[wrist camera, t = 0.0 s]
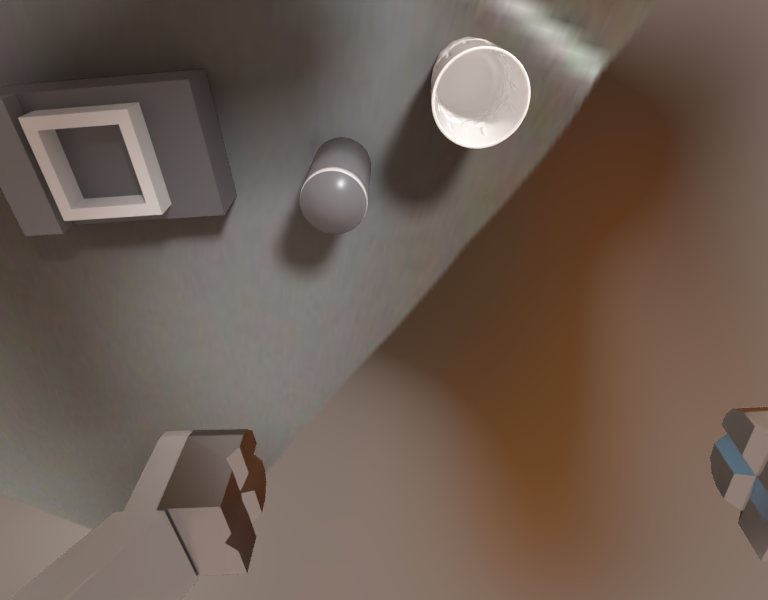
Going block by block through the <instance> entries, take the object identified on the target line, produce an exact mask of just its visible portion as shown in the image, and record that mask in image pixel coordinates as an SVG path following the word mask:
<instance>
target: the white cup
mask: <svg viewBox="0 0 768 600" xmlns="http://www.w3.org/2000/svg"><path fill="white" fill-rule="evenodd" d="M530 93H531V91H530V82H529V78H528V75H527V73H526V71H525V69H524V67H523V65H522V64H521V63H520V61H519V60H518V59H517V58H516V57H515V56H513V55H512V54H511V53H509V52H507V51H506V50H504V49H502V48H501V47H499V46H498V45H496V44H494V43H492V42H489V41H487V40H484V39H479V38H474V37H469V36H468V37H465V38H462V39H458V40H455V41H452V42H451V43H450V44H449V45H448V46H447V47H446V48H445V49H444V50H442V51H441V52H440V53H439V55H438V58H437V60H436V62H435V65H434V67H433V74H432V79H431V105H432V113H433V117H434V120H435V122H436V124H437V126H438V128H439V129H440V131H441V132H442V133H443V134H444V135H445V136H446V137H447V138H448V139H449V140H450V141H452V142H453V143H455V144H457V145H460V146H462V147H466V148H473V149H479V148H487V147H490V146H493V145H496V144H498V143H500V142H502V141H504V140H505V139H507V138H508V137H509V136H510V135H512V134H513V133H514V132H515V131H516V129H517V128H518V127H519V126H520V124H521V123H522V121H523V119H524V117H525V115H526V113H527V110H528V107H529V103H530Z"/></svg>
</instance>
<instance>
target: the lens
mask: <svg viewBox="0 0 768 600" xmlns="http://www.w3.org/2000/svg"><path fill="white" fill-rule="evenodd" d="M370 173H371V161H370V157H369V155H368V153H367V151H366V150H365V149H364V147H363V146H362V145H361V144H359V143H358V142H356V141H354V140H352V139H349V138H343V137H342V138H334V139H331V140H329V141H327V142H325V143H324V144H323V145H322V146H321V147H320V148H319V150H318V151H317V153H316V156H315V158H314V161H313V163H312V166H311V168H310V171H309V174H308V176H307V179H306V181H305V183H304V185H303V187H302V190H301V193H300V207H301V211H302V213H303V215H304V217H305V218H306V220H307V221H308V222H309V223H310V224H311V225H312V226H313V227H315V228H316V229H318V230H320V231H322V232H325V233H329V234H341V233H345V232H348V231H350V230H352V229H354V228H355V227H356V226H358V225H359V224H360V222H361V221H362V220H363V218H364V216H365V214H366V210H367V203H368V190H369V182H370Z"/></svg>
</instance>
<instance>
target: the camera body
mask: <svg viewBox="0 0 768 600" xmlns="http://www.w3.org/2000/svg"><path fill="white" fill-rule="evenodd" d="M0 187H1V189H2V191H3V193H4V195H5V197H6V199H7V201H8V203H9V205H10V207H11V209H12V211H13V213H14V215H15V217H16V219H17V221H18V223H19V225H20V227H21V229H22V231H23V233H24V235H25V236H37V235H52V234H63V233H65V232H66V231H67V230H68V229H69V228H70V227H72V226H73V225H82V224H98V223H113V222H128V221H143V220H158V219H173V218H188V217H203V216H218V215H225V213H226V212H227V210H228V209H229V207H230V206H231V204H232V203H233V201H234V200H235V198H236V196H237V195H236V191H235V186H234V182H233V178H232V174H231V170H230V166H229V162H228V158H227V154H226V150H225V146H224V142H223V138H222V134H221V130H220V126H219V122H218V118H217V114H216V110H215V105H214V101H213V97H212V93H211V89H210V85H209V81H208V77H207V73H206V69H197V70H185V71H173V72H161V73H149V74H137V75H126V76H114V77H102V78H90V79H78V80H66V81H54V82H42V83H30V84H18V85H7V86H4V87H1V88H0Z"/></svg>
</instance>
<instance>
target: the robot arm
mask: <svg viewBox="0 0 768 600" xmlns="http://www.w3.org/2000/svg"><path fill="white" fill-rule="evenodd" d="M722 426H723V427H724V429H725V430H726V432H727V434H726V435H725V436H724V437H722V438H721V439H719V440H718V441H717V442H715V444H714V447H713V450H712V453H711V456H710V460H711V471H712V475H713V478H714V481H715V484H716V486H717V488H718V490H719V491H720V493H721V495H722V497H723V498H724V499H725V500H726V501H728V502H729V503H730V504H732V505H733V506H735V507H736V508H738V509H739V510H740V516H739V520H738V524H739V525H740V527H741V529H742V530H743V532H744V534H745V535H746V537H747V539H748V540H749V542H750V544H751V545H752V547H753V549H754V550H755V552H756V554H757V555H758V557H759V559H760V560H761V561H768V407H750V408H733V409H732V410H730V411H729V412H728V413H727V414H726V416H725V418H724V420H723V423H722ZM256 445H257V442H256V439H255V437H254V434H253V431H252V430H248V429H235V430H194V431H166V432H165V433H164V434H163V435H162V436H161V437H160V438H159V439H158V441H157V443H156V445H155V447H154V449H153V451H152V453H151V455H150V457H149V460H148V462H147V464H146V466H145V468H144V470H143V472H142V474H141V476H140V478H139V480H138V482H137V484H136V486H135V488H134V490H133V492H132V494H131V496H130V498H129V500H128V502H127V504H126V506H125V508H124V510H123V512H114V513H113V514H111V515H110V516H109V517H108V518H107V519H105V520H104V521H103V522H102V523H100V524H99V525H98V526H97V527H96V528H94V529H93V530H92V531H91V532H90V533H88V534H87V535H86V536H85V537H83V538H82V539H81V540H80V541H79V542H77V543H76V544H75V545H74V546H73V547H71V548H70V549H69V550H68V551H66V552H65V553H64V554H63V555H61V556H60V557H59V558H58V559H57V560H56V561H54V562H53V563H52V564H51V565H49V566H48V567H47V568H46V569H44V570H43V571H42V572H41V573H40V574H38V575H37V576H36V577H35V578H34V579H32V580H31V581H30V582H29V583H27V584H26V585H25V586H24V587H23V588H21V589H20V590H19V591H18V592H17V593H15V594H14V595H13V596H12V597H10V598H9V599H8V600H182V599H183V598H184V596H185V595H186V594H187V593H188V592H189V590H190V589H191V588H192V587H193V585H194V584H195V583H196V582H197V580H198V577H197V576H213V575H230V574H247V573H248V569H249V565H250V561H251V557H252V552H253V548H254V544H255V540H256V534H255V532H254V529H253V526H252V523H253V522H254V521H255V520H256V519H257V518H258V517H259V516H260V515H261V514H262V511H263V506H264V502H265V494H266V475H265V468H264V465H263V461H262V460H261V459H260V458H258V457H257V456H256V455H254V452H255V448H256Z"/></svg>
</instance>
